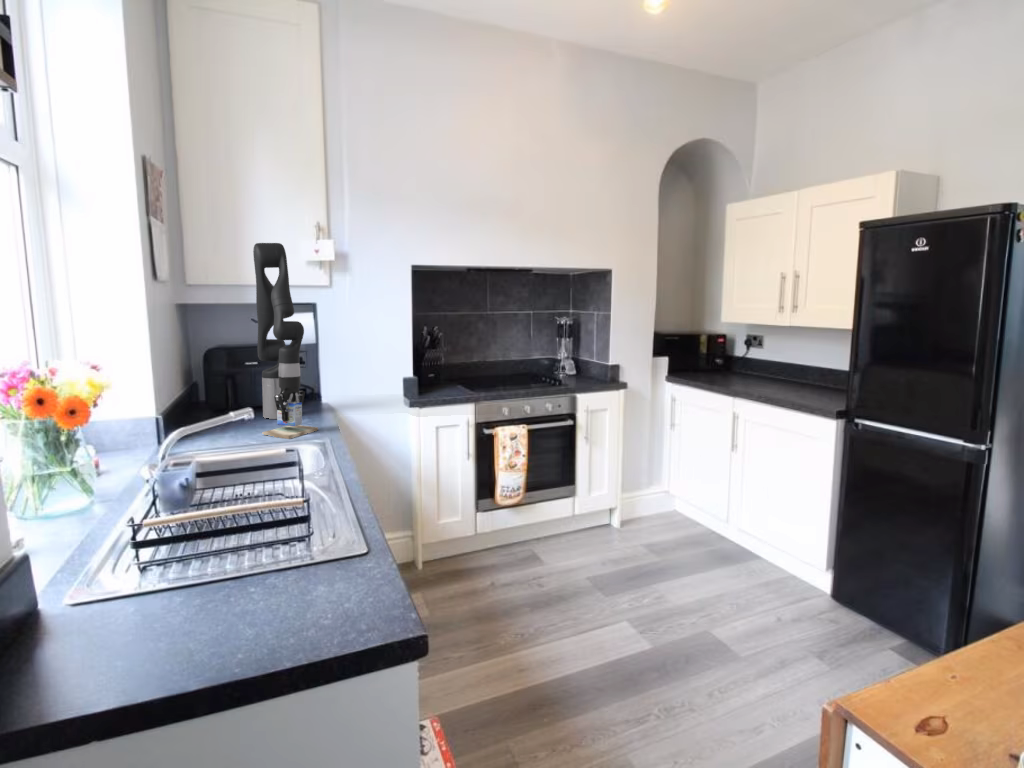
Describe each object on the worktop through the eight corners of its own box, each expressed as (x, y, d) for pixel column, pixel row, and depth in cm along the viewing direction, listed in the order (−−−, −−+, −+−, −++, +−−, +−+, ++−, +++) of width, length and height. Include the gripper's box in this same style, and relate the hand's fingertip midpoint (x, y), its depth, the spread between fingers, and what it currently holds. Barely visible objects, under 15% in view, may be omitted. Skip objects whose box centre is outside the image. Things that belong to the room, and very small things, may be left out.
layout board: (293, 427, 219) (293, 423, 219) (318, 430, 215) (318, 426, 215) (262, 435, 204) (262, 431, 204) (288, 439, 200) (288, 435, 200)
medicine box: (276, 424, 208) (276, 402, 207) (284, 422, 212) (283, 400, 211) (295, 426, 206) (294, 403, 205) (302, 424, 210) (302, 401, 209)
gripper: (294, 372, 214) (295, 415, 217) (267, 376, 201) (268, 422, 203) (310, 373, 212) (311, 417, 214) (283, 377, 199) (284, 424, 201)
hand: (290, 419), depth 209 cm, fingers closed on medicine box, 4 cm apart
